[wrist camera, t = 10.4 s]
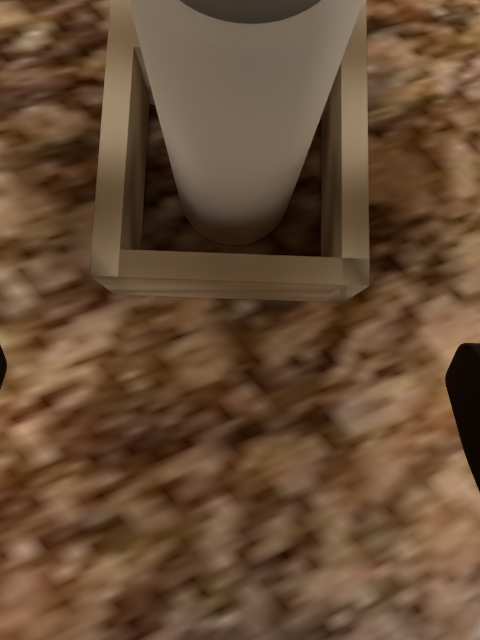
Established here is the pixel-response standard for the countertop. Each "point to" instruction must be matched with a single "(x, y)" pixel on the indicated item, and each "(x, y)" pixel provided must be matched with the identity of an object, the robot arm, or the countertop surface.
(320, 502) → the countertop surface
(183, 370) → the countertop surface
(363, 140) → the beech slot rack
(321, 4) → the cylinder
